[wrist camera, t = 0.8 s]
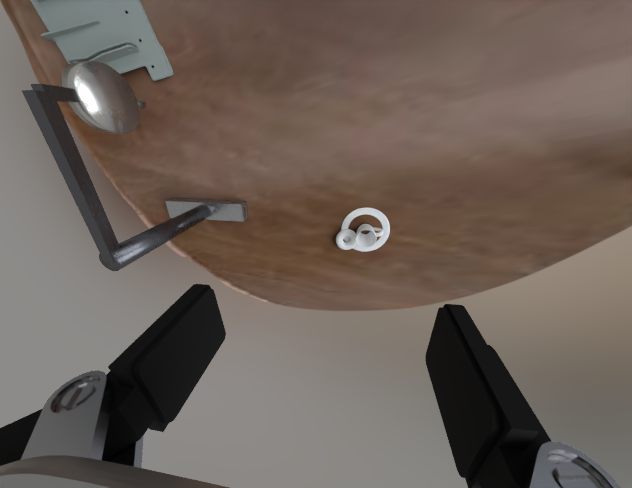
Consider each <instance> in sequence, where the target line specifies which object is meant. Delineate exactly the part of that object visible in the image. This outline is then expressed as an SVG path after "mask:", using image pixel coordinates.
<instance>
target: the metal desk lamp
mask: <svg viewBox="0 0 632 488" xmlns="http://www.w3.org/2000/svg"><path fill="white" fill-rule="evenodd" d="M31 86H32V88H33V90H28V91H27V90H26V91H22V92H23V94H24V96H25V98H26V100H27V102H28V104H29V107H30V109H31V111H32V113H33V115H34V117H35V119H36V121H37V123H38V125H39V127H40V129H41V131H42V133H43V136H44V138H45V140H46V142H47V144H48V146H49V148H50V150H51V152H52V154H53V156H54V158H55V160H56V162H57V164H58V167H59V169H60V171H61V173H62V175H63V177H64V179H65V181H66V183H67V185H68V187H69V189H70V192H71V194H72V196H73V198H74V200H75V202H76V204H77V206H78V208H79V210H80V212H81V214H82V216H83V218H84V221H85V223H86V225H87V227H88V229H89V231H90V233H91V235H92V237H93V239H94V241H95V243H96V245H97V248H98V250H99V252H100V254H99V258H100V261H101V263H102V264H103V265H104V266H105V267H106V268H108V269H110V270H112V271H118V270H120V269H121V268H123V267H125V266H127V265H128V264H130V263H132V262H133V261H135V260H137V259H138V258H140V257H142V256H143V255H145V254H147V253H149V252H150V251H152V250H154V249H155V248H157V247H159V246H160V245H162V244H164V243H166V242H167V241H169V240H171V239H172V238H174V237H176V236H177V235H179V234H181V233H183V232H184V231H186V230H188V229H189V228H191V227H193V226H194V225H196V224H198V223H200V222H201V221H203V220H205V219H207V220H225V221H242V222H244V221H245V220H246V219H248V218H249V216H248V209H247V202H246V201H231V200H208V199H185V198H172V199H169V200H167V201H165V202H166V206H167V209H168V212H169V215H170V217H171V218H172V219H170V220H168V221H165V222H163V223H161V224H159V225H157V226H155V227H153V228H151V229H149V230H147V231H145V232H143V233H141V234H139V235H136V236H134V237H132V238H130V239H128V240H126V241H124V242H122V243H120V244H118V241H117V239H116V237H115V235H114V232H113V230H112V228H111V225H110V223H109V221H108V219H107V216H106V214H105V212H104V209H103V207H102V205H101V202H100V200H99V197H98V195H97V193H96V191H95V188H94V186H93V184H92V181H91V179H90V177H89V174H88V172H87V170H86V168H85V165H84V163H83V161H82V158H81V156H80V154H79V151H78V149H77V147H76V144H75V142H74V140H73V137H72V135H71V133H70V131H69V128H68V126H67V124H66V121H65V119H64V117H63V114H62V112H61V110H60V107H59V105H58V103H57V101H60V102H68V103H69V104H70V106H71V108H72V109H73V110H74V112H75V113H76V114H77V115H78V116H79V117H80V118H81V119H82V120H83V121H84V122H85V123H87V124H88V125H89V126H91V127H93V128H94V129H96V130H98V131H101V132H105V133H128V132H131V131H133V130H134V129H135V128H136V127H137V125H138V123H139V119H140V110H139V108H145V107H146V103H145V102H144V101H143V100H137V98H136V96H135V94H134V92H133V90H132V88H131V87H130V85H129V84H128V83H127V81H126V80H125V79H124V78H123V77H122V76H121V75H120V74H119V73H118V72H117V71H116V70H115V69H113V68H112V67H110V66H109V65H107V64H104V63H102V62H98V61H83V62H73V63H71V64H69V65H68V66H66V68H65V69H64V71H63V74H62V87H59V86H52V85H45V84H31Z"/></svg>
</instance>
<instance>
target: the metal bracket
mask: <svg viewBox="0 0 632 488" xmlns="http://www.w3.org/2000/svg"><path fill="white" fill-rule="evenodd" d="M31 2H32V4H33V5H34V7H35V9H36V10H37V12H38V14H39V15H40V17H41V19H42V20H43V22H44V24H45V25H46V27H47V29H48V30H49V32H47V33H44V34H41V36H42V38H45V39H48V40H50V41H53V42H56V44H57V45H58V47H59V49H60V50H61V52H62V54H63V55H64V57H65V59H66V60H67V62H68V64H71V63H73V62H83V61H98V62H102V63H104V64H107V65H109V66H110V67H112V68H113V69H115V70H116V71H117V72H118V73H119V74H122V73H125V72H128V71H131V70H134V69H137V68H140V67H143V66H145V67H146V68H147V70H148V72H149V74H150V76H151V78H152V79H153V80H154V81H158V80H161V79H164V78H167V77H170V76H172V75H173V70H172V68H171V65H170V63H169V61H168V59H167V56H166V54H165V52H164V50H163V48H162V46H161V45H160V44H159V42H158V40H157V38H156V35H155V33H154V31H153V29H152V27H151V24H150V22H149V20H148V18H147V16H146V14H145V11H144V9H143V7H142V5H141V3H140V0H31ZM126 11H128V14H126ZM140 39H141V40H142V42H140V41H139V40H140ZM152 66H154V68H152Z"/></svg>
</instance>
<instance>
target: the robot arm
mask: <svg viewBox="0 0 632 488" xmlns="http://www.w3.org/2000/svg"><path fill="white" fill-rule="evenodd" d="M225 335H226V333H225V329H224V325H223V321H222V318H221V314H220V311H219V308H218V304H217V300H216V297H215V293H214V290H213V289H211V287H210V286H209V285H202V284H195V285H193V286H192V287H191V288H190V289H189V290H188V291H186V293H184V294H183V295H182V296H181V297H180V298H179V299H178V300H177V301H176V302H175V303H174V304H173V305H172V306H171V307H170V308H169V309H168V310H167V311H166V312H165V313H164V314H163V315H161V317H159V318H158V319H157V320H156V321H155V322H154V323H153V324H152V325H151V326H150V327H149V328H148V329H147V330H146V331H145V332H144V333H143V334H142V335H141V336H140V337H139V338H138V339H136V340H135V342H133V343H132V344H131V345H130V346H129V347H128V348H127V349H126V350H125V351H124V352H123V353H122V354H121V355H120V356H119V357H118V358H117V359H116V360H115V361H114V362H113V363H112V364H110V365H109V366H108V367H109V369H110V370H111V371H110V372H109V373H108V374H107V375H106V374H105V373H104V372H101V371H91V372H87V373H84V374H81V375H79V376H77V377H75V378H73V379H72V380H70V381H68V382H67V383H65V384H64V385H62V386H61V387H60V388H59V389H58V390H57V391H55V393H53V394H52V396H51V397H50V398H49V399H48V400H47V402H46V404H45V405H44V407H43V409H41V410H39V411H37V412H35V413H32V414H30V415H28V416H26V417H24V418H21V419H19V420H17V421H15V422H13V423H11V424H8V425H6V426H4V427H2V428H0V488H229V487H224V486H220V485H215V484H211V483H206V482H202V481H197V480H192V479H188V478H183V477H179V476H174V475H170V474H165V473H161V472H156V471H151V470H147V469H142V468H141V462H142V447H143V435H144V433H145V432H146V430H147V429H148V428H149V429H151V430H157V431H162V432H163V431H164V430H165V428H166V427H167V425H168V423H169V422H172V421H173V420H174V419H175V418H176V416H177V415H178V413H179V411H180V410H181V408H182V406H183V405H184V403H185V402H186V400H187V399H188V397H189V395H190V394H191V392H192V391H193V389H194V387H195V386H196V384H197V383H198V381H199V379H200V378H201V376H202V375H203V373H204V371H205V370H206V368H207V366H208V365H209V363H210V362H211V360H212V358H213V357H214V355H215V354H216V352H217V351H218V349H219V347H220V346H221V344H222V343H223V341H224V339H225ZM426 365H427V368H428V371H429V375H430V379H431V381H432V385H433V389H434V392H435V396H436V399H437V402H438V406H439V409H440V413H441V416H442V419H443V423H444V426H445V430H446V433H447V437H448V440H449V443H450V447H451V450H452V454H453V457H454V460H455V463H456V467H457V470H458V472H459V475H460V476H461V477H463V478H465V479H466V482H467V485H468V488H620V486H619V485H618V484H617V483H616V482H615V480H614V479H613V478H612V477H611V476H610V475H609V474H608V473H607V472H606V471H605V470H604V469H603V468H602V467H601V466H600V465H599V464H598V463H596V462H595V461H594V460H592V459H591V458H589V457H588V456H587V455H586V454H584V453H582V452H581V451H579V450H577V449H575V448H573V447H571V446H569V445H566V444H563V443H560V442H551V440H550V438H549V437H548V435H547V433H546V432H545V430H544V428H543V427H542V425H541V424H540V422H539V420H538V419H537V417H536V415H535V414H534V413H533V411H532V409H531V407H530V406H529V404H528V403H527V401H526V399H525V398H524V396H523V395H522V393H521V391H520V390H519V388H518V387H517V385H516V383H515V382H514V380H513V378H512V377H511V375H510V374H509V372H508V370H507V369H506V367H505V366H504V364H503V362H502V361H501V359H500V358H499V356H498V354H497V353H496V351H495V350H494V349H493V348H492V347H491V346H490V345H487V344H486V342H485V340H484V339H483V337H482V335H481V334H480V332H479V330H478V329H477V327H476V326H475V324H474V322H473V320H472V319H471V317H470V315H469V314H468V312H467V310H466V309H465V307H464V306H462V305H452V304H445V305H444V307H443V308H439V309H438V313H437V317H436V320H435V324H434V327H433V331H432V334H431V338H430V342H429V345H428V349H427V352H426Z"/></svg>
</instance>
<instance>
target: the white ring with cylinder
mask: <svg viewBox="0 0 632 488" xmlns="http://www.w3.org/2000/svg"><path fill="white" fill-rule="evenodd" d="M364 214H368V215H372V216H375V217H376V218H378V219H379V221H380V222H381V224H382V227H383V230H382V229H380V228H372V226H371V225H369V224H362V225H360V226H359V227H358V229H357V233H355V232H354V231H352V230H350V229H348V227H349V224H350V222H351V221H352V220H353V219H354V218H355V217H357V216H359V215H364ZM363 230H369V231H370V232H369V233H368V234H362V233H361V231H363ZM374 230H376V231H381V232H380V233H375V231H374ZM389 233H390V225H389V222H388V219H387V218H386V216H385V215H384V214H383V213H381V212H380V211H378V210H376V209H373V208H359V209H356V210H354V211H352V212H351V213H350V214H348V215H347V217H346V218H345V219H344V221H343V223H342V228H341V231H340V232H339V233H338V235H337V237H336V243H337V245H338V246H339V247H340V248H341V249H344V250H349V249H352V248H353V249H355V250H358V251H364V252H366V251H372V250H375V249H377V248H379V247H381V246H382V245H383V244H384V243H385V242H386V240H387V239H388V236H389ZM381 235H382V236H381ZM378 236H381V237H380V239H379V240H378V241H377V242H376V237H378ZM343 239H344V241H345V242H346V243H345V242H344V241H343ZM375 242H376V243H375Z"/></svg>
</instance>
